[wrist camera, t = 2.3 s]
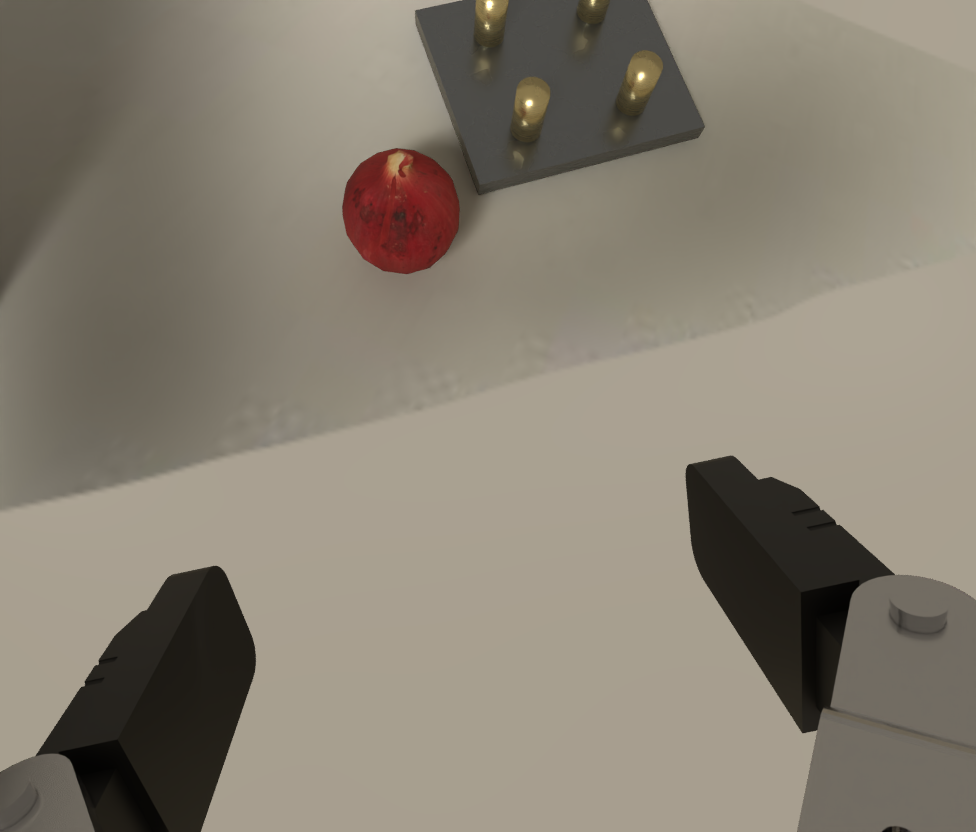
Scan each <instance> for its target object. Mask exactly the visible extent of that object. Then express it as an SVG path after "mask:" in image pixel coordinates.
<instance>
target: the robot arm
mask: <svg viewBox="0 0 976 832" xmlns="http://www.w3.org/2000/svg"><path fill="white" fill-rule="evenodd" d="M686 488H687V499H688V511H689V522H690V534H691V544H692V549H693V554H694V558H695V561H696V564H697V567H698V570H699V572H700V574H701V576H702V578H703V580H704V581H705V583H706V584H707V586H708V587H709V589H710V591H711V592H712V594H713V595H714V597H715V598H716V600H717V601H718V603H719V605H720V606H721V608H722V609H723V611H724V612H725V614H726V615H727V617H728V619H729V620H730V622H731V623H732V625H733V626H734V628H735V629H736V631H737V633H738V634H739V636H740V637H741V639H742V640H743V641H744V643H745V645H746V646H747V648H748V650H749V651H750V652H751V654H752V656H753V657H754V659H755V660H756V662H757V663H758V665H759V667H760V668H761V670H762V671H763V673H764V674H765V676H766V678H767V679H768V681H769V682H770V684H771V685H772V687H773V688H774V690H775V691H776V693H777V695H778V696H779V698H780V699H781V701H782V702H783V704H784V705H785V707H786V709H787V710H788V712H789V713H790V715H791V716H792V717H793V719H794V721H795V722H796V724H797V726H798V727H799V729H800V730H801V732H802V733H806V732H811V731H816V730H817V735H816V740H815V745H814V750H813V755H812V761H811V765H810V770H809V775H808V780H807V785H806V791H805V795H804V800H803V805H802V810H801V815H800V820H799V825H798V830H797V832H976V600H975V599H974V598H972V597H971V596H969V595H968V594H966V593H965V592H963V591H961V590H959V589H957V588H955V587H953V586H950V585H948V584H946V583H943V582H940V581H936V580H933V579H928V578H924V577H919V576H909V575H895V574H894V573H893V572H892V571H890V570H889V569H888V568H887V567H886V566H885V565H884V564H883V563H882V562H880V561H879V560H878V559H877V558H876V557H875V556H874V555H873V554H872V553H870V552H869V551H868V550H867V549H866V548H865V547H864V546H863V545H861V544H860V543H859V542H858V541H857V540H856V539H855V538H854V537H853V536H852V535H850V534H849V533H848V532H847V531H846V530H845V529H844V528H843V527H842V526H840V525H836V522H835V520H834V519H833V518H832V517H830V516H829V515H828V514H827V513H826V512H825V511H824V510H820V508H819V506H818V505H817V504H816V503H815V502H814V501H813V500H811V499H810V498H809V497H808V496H807V495H806V494H805V493H804V492H803V491H801V490H800V489H799V488H796V487H794V486H791V485H789V484H787V483H784V482H782V481H779V480H777V479H775V478H773V477H769V478H764V479H760V480H758V479H757V478H756V477H755V476H754V475H753V474H752V473H751V472H750V471H749V470H748V469H747V468H746V467H745V466H744V465H743V464H742V463H741V462H740V461H739V460H738V459H737V458H735V457H734V456H726V457H722V458H717V459H712V460H708V461H703V462H698V463H693V464H689V465H688V466H687V468H686ZM255 666H256V654H255V646H254V642H253V638H252V635H251V633H250V631H249V628H248V626H247V623H246V621H245V619H244V616H243V614H242V611H241V609H240V607H239V604H238V602H237V599H236V597H235V595H234V592H233V590H232V587H231V585H230V583H229V580H228V578H227V576H226V574H225V572H224V571H223V570H222V569H221V568H220V567H218V566H211V567H207V568H202V569H197V570H192V571H188V572H183V573H178V574H173V575H171V576H169V577H168V578H167V579H166V581H165V582H164V584H163V585H162V587H161V589H160V590H159V592H158V593H157V595H156V597H155V598H154V600H153V601H152V603H151V605H150V606H149V608H148V609H147V610H146V611H142V612H141V613H139V614H138V615H137V616H136V617H135V618H134V619H133V620H132V621H131V622H129V623H128V624H127V625H126V626H125V627H124V628H123V629H122V630H121V631H120V632H118V633H117V634H116V635H115V636H114V638H113V639H112V641H111V643H110V644H109V646H108V647H107V648H106V650H105V652H104V653H103V655H102V656H101V658H100V659H99V665H96V666H95V667H94V668H93V670H92V671H91V673H90V674H89V676H88V677H87V679H86V681H85V686H84V687H81V688H80V689H79V691H78V692H77V694H76V695H75V697H74V698H73V700H72V701H71V703H70V705H69V706H68V708H67V709H66V711H65V712H64V714H63V715H62V717H61V718H60V720H59V721H58V723H57V724H56V726H55V727H54V729H53V730H52V732H51V733H50V735H49V736H48V738H47V739H46V741H45V742H44V744H43V746H42V747H41V748H40V750H39V752H38V753H37V754H36V756H35V757H31V758H29V759H26V760H23V761H21V762H19V763H17V764H15V765H12V766H11V767H9V768H7V769H5V770H3V771H1V772H0V832H201V829H202V826H203V823H204V820H205V817H206V815H207V812H208V808H209V805H210V803H211V800H212V797H213V794H214V791H215V788H216V785H217V782H218V779H219V776H220V774H221V770H222V768H223V765H224V762H225V759H226V756H227V753H228V750H229V747H230V744H231V741H232V738H233V735H234V733H235V730H236V726H237V723H238V721H239V718H240V715H241V712H242V709H243V706H244V703H245V700H246V697H247V694H248V691H249V689H250V685H251V682H252V679H253V676H254V673H255Z"/></svg>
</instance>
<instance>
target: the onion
mask: <svg viewBox="0 0 976 832" xmlns="http://www.w3.org/2000/svg"><path fill="white" fill-rule="evenodd" d="M342 210H343V219H344V224H345V228H346V233H347V236H348V237H349V239H350V240H351V242H352V243H353V245H354V246H355V248H356V249H357V250H358V252H359V253H360V254H361V256H362V257H363V259H365V260H366V261H368V262H370V263H371V264H373V265H374V266H376V267H378V268H379V269H381V270H383V271H388V272H395V273H402V274H409V273H413V272H416V271H420V270H424V269H427V268H430V267H431V266H432V265H433V264H434V263H435V262H437V261H438V260H439V259H440V258H441V257H442V256H443V255H445V253H446V252H447V250H448V249H449V247H450V245H451V243H452V241H453V239H454V237H455V235H456V233H457V231H458V226H459V211H460V208H459V200H458V197H457V193H456V190H455V187H454V184H453V180H452V179H451V177H450V176H449V174H448V173H447V172H446V171H445V170H444V169H443V168H442V167H441V166H440V165H439V164H438V163H437V162H436V161H435V160H433V159H431V158H429V157H427V156H425V155H423V154H421V153H419V152H416V151H414V150H406V149H398V148H395V149H391V150H387V151H383V152H379V153H377V154H375V155H373V156H372V157H370V158H368V159H367V160H365V161H364V162H362V163H361V164H360V165H359V166H358V167H357V168H356V170H355V171H354V173H353V174H352V176H351V177H350V179H349V180H348V182H347V185H346V188H345V194H344V200H343V206H342Z"/></svg>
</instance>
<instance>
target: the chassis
mask: <svg viewBox="0 0 976 832" xmlns="http://www.w3.org/2000/svg"><path fill="white" fill-rule="evenodd" d="M415 20H416V26H417V29H418V32H419V35H420V37H421V40H422V43H423V45H424V48H425V51H426V54H427V56H428V59H429V62H430V64H431V67H432V70H433V72H434V75H435V78H436V81H437V83H438V86H439V89H440V91H441V94H442V97H443V100H444V102H445V105H446V108H447V110H448V113H449V116H450V118H451V121H452V124H453V127H454V129H455V132H456V135H457V137H458V140H459V143H460V146H461V148H462V151H463V154H464V156H465V159H466V162H467V164H468V167H469V170H470V173H471V175H472V178H473V181H474V183H475V186H476V189H477V192H478V194H479V195H480V194H484V193H487V192H491V191H495V190H499V189H503V188H507V187H510V186H514V185H518V184H522V183H526V182H530V181H533V180H537V179H541V178H545V177H549V176H553V175H556V174H560V173H564V172H568V171H572V170H576V169H579V168H583V167H587V166H591V165H595V164H599V163H602V162H606V161H610V160H614V159H618V158H622V157H625V156H629V155H633V154H637V153H641V152H645V151H648V150H652V149H656V148H660V147H664V146H668V145H672V144H675V143H679V142H683V141H687V140H691V139H695V138H698V137H699V135H700V134H701V132H702V130H703V129H704V127H705V126H704V124H703V122H702V119H701V117H700V115H699V113H698V111H697V108H696V106H695V104H694V102H693V100H692V98H691V95H690V93H689V91H688V89H687V87H686V84H685V82H684V80H683V78H682V76H681V73H680V71H679V69H678V67H677V65H676V63H675V60H674V58H673V56H672V54H671V52H670V49H669V47H668V45H667V43H666V41H665V38H664V36H663V34H662V32H661V30H660V27H659V25H658V23H657V21H656V19H655V17H654V14H653V12H652V10H651V8H650V6H649V3H648V1H647V0H462V1H457V2H453V3H448V4H443V5H439V6H434V7H429V8H425V9H420V10H415Z"/></svg>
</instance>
